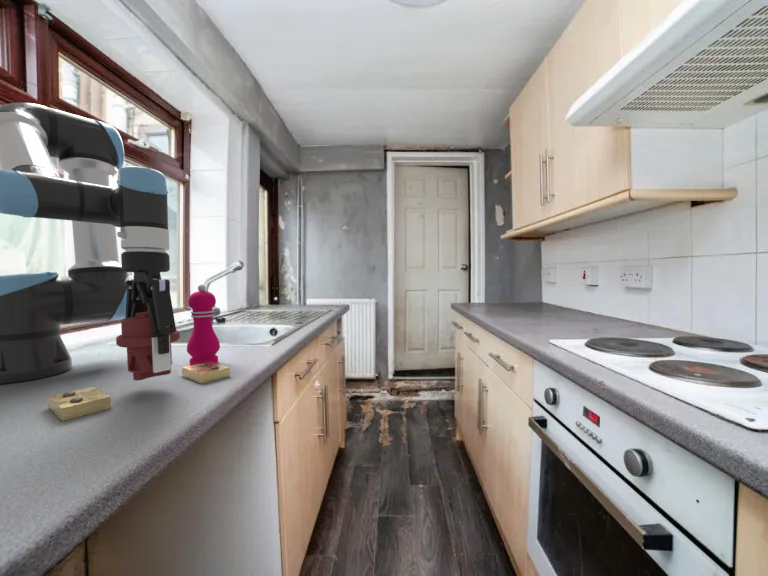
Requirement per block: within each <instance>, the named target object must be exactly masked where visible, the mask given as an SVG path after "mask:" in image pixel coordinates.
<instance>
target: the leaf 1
mask: <svg viewBox="0 0 768 576" xmlns="http://www.w3.org/2000/svg"><path fill="white" fill-rule="evenodd" d="M47 399H48V409H49V410H51V411H53V412H54V413H53V414H54V415H55V416H56V415H57V416H56V417H57V418H58V419H59V418H60V419H61V420H62V421H61V420H60V419H59V420H60V421H61V422H65V421H68V420H69V421H70V420H72V419H76V418H80V417H83V415H84V416H88V415H91V414H94V413H98V412H103V411H106V410H109V409H111V408H112V401H111V396H110V395H109V394H107V393H105V392H103V391H102V390H101V389H99V388H97V387H95V386H89V387H85V388H81V389H76V390H71V391H68V392H67V391H66V392H62V393H58V394H53V395H48V398H47ZM102 410H103V411H102ZM87 414H88V415H87ZM64 420H65V421H64Z"/></svg>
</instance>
